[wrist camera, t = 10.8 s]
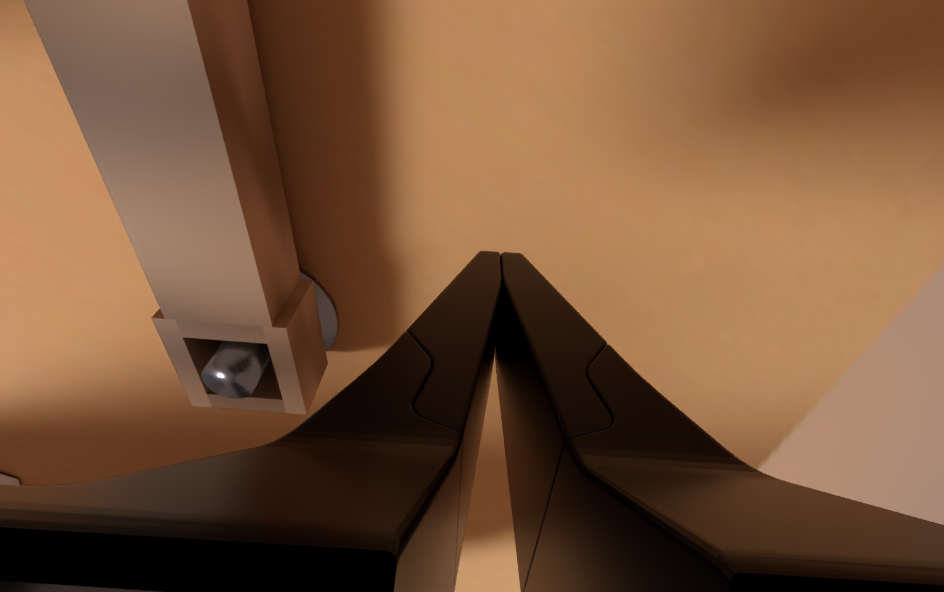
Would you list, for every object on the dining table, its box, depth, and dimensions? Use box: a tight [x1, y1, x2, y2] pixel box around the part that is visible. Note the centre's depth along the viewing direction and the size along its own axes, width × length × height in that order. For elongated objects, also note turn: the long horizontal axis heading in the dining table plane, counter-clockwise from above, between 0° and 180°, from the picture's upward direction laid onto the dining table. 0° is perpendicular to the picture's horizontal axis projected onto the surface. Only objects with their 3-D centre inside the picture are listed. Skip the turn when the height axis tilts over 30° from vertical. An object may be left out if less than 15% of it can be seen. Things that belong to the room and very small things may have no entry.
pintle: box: [202, 269, 339, 399], centre depth 16 cm, size 5×5×4 cm
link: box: [24, 0, 328, 415], centre depth 12 cm, size 15×4×2 cm, turn 176°
